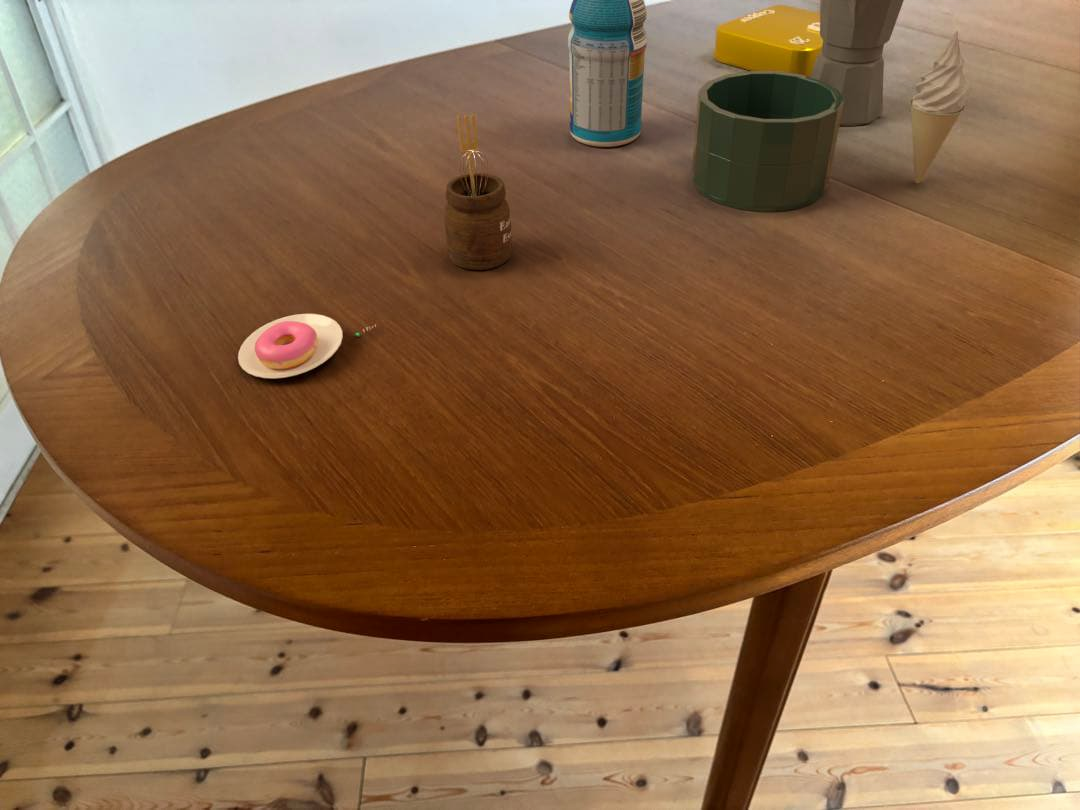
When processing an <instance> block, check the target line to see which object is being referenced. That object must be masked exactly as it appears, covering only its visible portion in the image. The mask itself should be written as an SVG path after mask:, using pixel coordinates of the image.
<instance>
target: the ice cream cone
mask: <svg viewBox="0 0 1080 810" xmlns="http://www.w3.org/2000/svg"><path fill="white" fill-rule="evenodd" d="M960 47H961V46H960V42H959V31H958V30H956V31H955V33H954V34H953V36H952V37H951V39H950V40H949V41H948V43H947V44H946V45H945V47H944V48H943V50H942V51H941V52H940V54H938V56H937V57H936V58H935V60H934V61H933V68H932V69H931V70H930V71H928V72H926V73H923V74H922V75H921V76H920V78H921V82H918V83H916V84H915V87H914V88H915V90H916V91H917V94H915V95H914V96H912V98H911V99H910V100H909V105H910V109H911V110H910V111H911V112H910V113H911V114H910V115H911V132H912V133H911V134H912V136H911V137H912V151H913V153H912V154H913V169H914V171H913V172H914V183H915V184H921V182H922V181H923V179H924V177H925V175H926V174H927V172H928V170H929V169H930V167H931V165H932V163H933V162H934V160H935V158H936V157H937V155H938V153H939V152H940V149H941V148H942V146H943V144H944V143H945V141H946V139H947V138H948V136H949V134H950V133H951V131H952V130H953V127H954V126H955V124H956V121H957V120H958V118H959V117H960V116H961V113H962V112H964V111H965V109H966V106H965V104H966V103H967V102H968V98H969V96H970V91H971V86H970V82H969V81H968V79H967V77H966V75H965V73H964V70H963V68H964V65H965V60H964V58H963V56H962V53H961V48H960Z"/></svg>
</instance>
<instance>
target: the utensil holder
mask: <svg viewBox="0 0 1080 810" xmlns="http://www.w3.org/2000/svg"><path fill="white" fill-rule="evenodd" d="M463 119H464V129H465V140H466V141H464V135H463V127H462V117H461V116H460V115H457V117H456V121H457V130H458V131H457V132H458V140H459V141H458V142H459V149H460V152H461V154H463V155H462V157H461V159H460V162H459V167H460V168H459V171H460V173H459V174H460V175H458V176H457V177H454V178H452V179H451V180H449V182H448V183H447V185H446V189H445V199H446V202H447V203H446V205H445V207H444V215H443V216H444V232H445V239H446V248H447V252H448V256H449V259H450V261H451V262H452V263H453V264H454V265H456V266H457V267H459V268H461V269H464V270H470V271H487V270H492V269H494V268H498V267H500V266H502V265H503V264H505V263H506V262H507V261H508V260H509V259H510V257H511V255H512V252H513V251H512V249H513V234H512V217H511V209H510V205H509V203H508V201H507V200H506V196H507V195H506V194H507V192H506V187H505V183H504V181H503V180H502V179H501V178H500V177H498V176H496V175H493V174H491V173H490V174H489V173H486V172H484V171H483V170H484V169H486V168H487V169H489V163H488V158H487V156H486V155H485V154H484V152H482V151H481V150H480V149H479V144H478V134H477V125H476V116H475V114H471V115H470V121H471V129H472V138H473V140H472V141H471V136H470V126H469V125H470V124H469V116H468V115H467V114H465V115H464V116H463ZM479 153H480V154H479ZM475 154H476V155H478V156H479V158H480V159H481V172H475V171H474V169H475V170H477V164H476V162H474V163H473V159H474V160H476V157H475ZM465 156H467V159H466V163H465V164H462V161H463V159H464V157H465ZM483 156H484V157H485V159H486V165H485V162H484V160H483ZM467 164H468V167H469V168H468V169H469V173H465V168H464V165H465V166H467ZM473 164H474V165H473ZM474 166H475V167H474ZM486 166H487V167H486ZM462 169H463V170H462ZM462 171H463V174H462ZM483 172H484V173H483Z"/></svg>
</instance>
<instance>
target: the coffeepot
mask: <svg viewBox="0 0 1080 810" xmlns="http://www.w3.org/2000/svg"><path fill="white" fill-rule="evenodd" d="M904 1H905V0H820V2H819V3H820V4H819V5H820V6H819V13H820V36H821V38H822V39H823V44H822V50H821V53H820V54H819V55H818V56H817V59H816V62H815V65H814V68H813V71H812V74H811V78H814V79H818V80H821V81H824V82H826V83H827V84H829V85H831V86H832V87H834V88H836V89H837V90H839V92H840V94H841V96H842V98H843V100H844V103H843V109H842V114H841V120H840V125H839V127H858V126H863V125H867V124H871V123H873V122H875V121H876V120H878V118H879V116H881V115H883V103H884V101H883V99H884V97H883V96H884V95H883V94H884V71H885V70H884V69H885V61H884V58H883V52H884V47H885V44H887V43H888V42H889V41H890V40H891V37H892V34H893V32H894V29H895V25H896V23H897V20H898V18H899V16H900V15H899V14H900V12H901V9H902V6H903V3H904Z"/></svg>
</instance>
